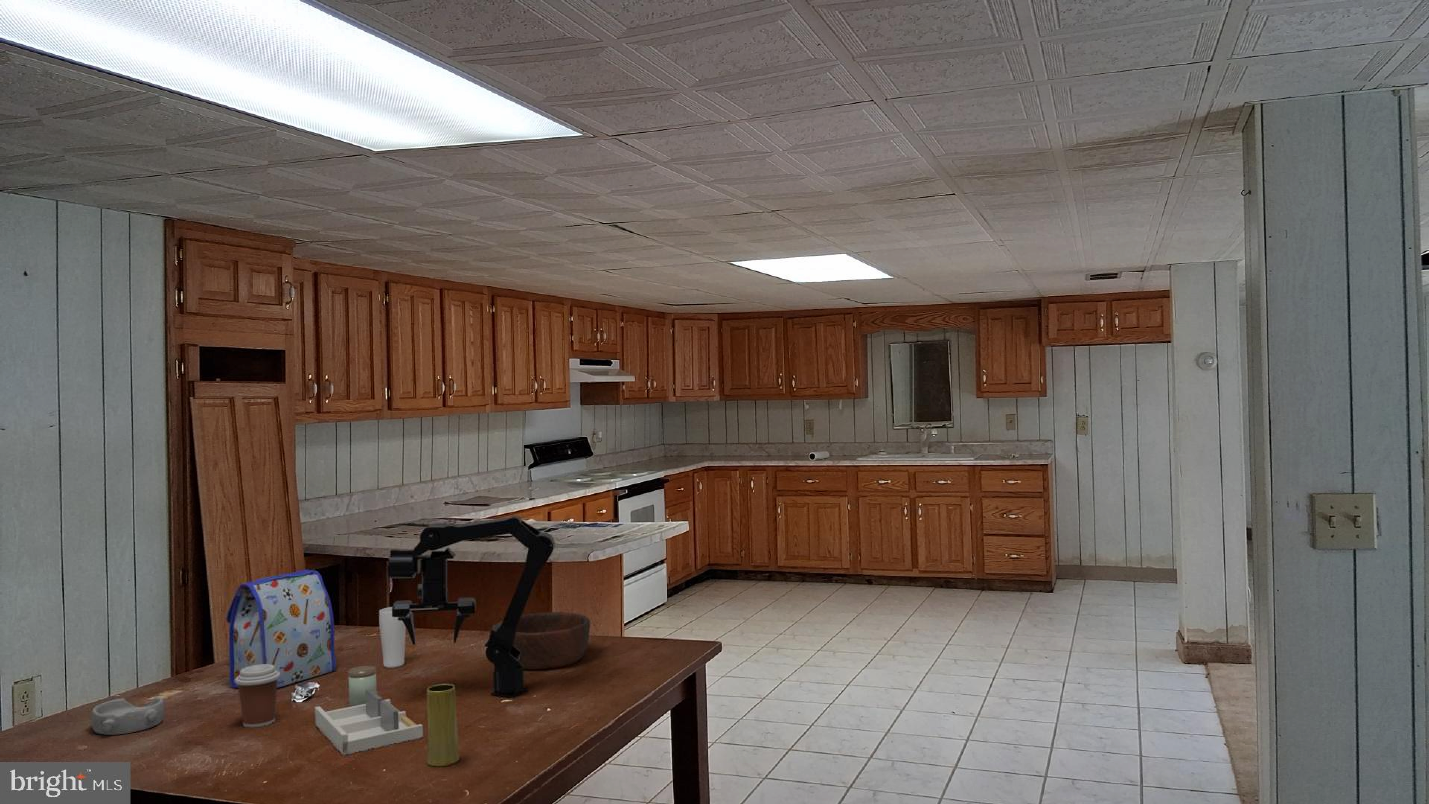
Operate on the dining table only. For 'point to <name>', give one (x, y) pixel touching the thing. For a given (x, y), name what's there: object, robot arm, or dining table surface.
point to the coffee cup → (258, 694)
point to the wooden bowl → (551, 639)
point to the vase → (442, 725)
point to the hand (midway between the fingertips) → (434, 643)
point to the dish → (126, 716)
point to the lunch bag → (282, 627)
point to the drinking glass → (392, 638)
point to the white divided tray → (366, 727)
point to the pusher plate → (372, 703)
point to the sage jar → (361, 684)
